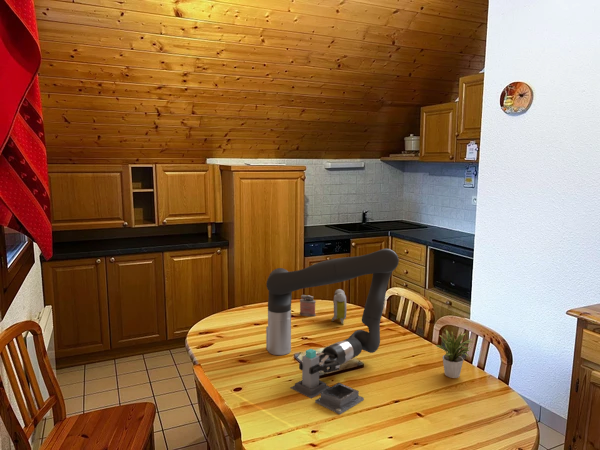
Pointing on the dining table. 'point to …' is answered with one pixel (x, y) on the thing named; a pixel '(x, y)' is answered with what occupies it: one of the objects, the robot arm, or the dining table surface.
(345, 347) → the robot arm
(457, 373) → the house plant
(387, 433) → the dining table surface
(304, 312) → the lighter
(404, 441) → the dining table surface
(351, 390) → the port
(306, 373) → the plug
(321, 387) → the grey square tray
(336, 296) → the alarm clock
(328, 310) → the dining table surface
